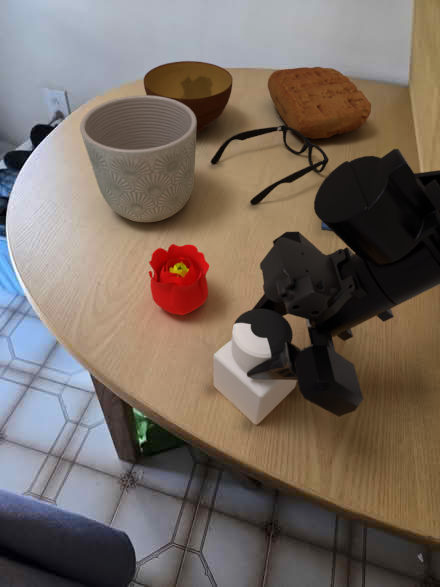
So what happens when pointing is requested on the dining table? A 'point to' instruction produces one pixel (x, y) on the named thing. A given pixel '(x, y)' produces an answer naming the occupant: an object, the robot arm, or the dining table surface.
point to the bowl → (192, 87)
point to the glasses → (284, 129)
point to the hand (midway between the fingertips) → (246, 349)
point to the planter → (142, 154)
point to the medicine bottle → (253, 363)
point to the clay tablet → (318, 101)
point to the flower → (179, 278)
